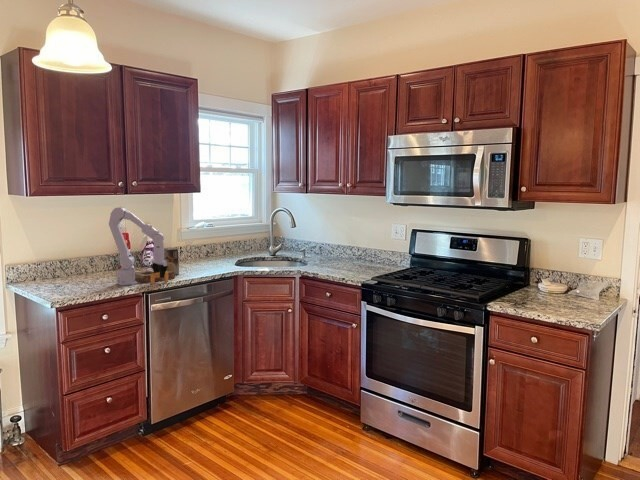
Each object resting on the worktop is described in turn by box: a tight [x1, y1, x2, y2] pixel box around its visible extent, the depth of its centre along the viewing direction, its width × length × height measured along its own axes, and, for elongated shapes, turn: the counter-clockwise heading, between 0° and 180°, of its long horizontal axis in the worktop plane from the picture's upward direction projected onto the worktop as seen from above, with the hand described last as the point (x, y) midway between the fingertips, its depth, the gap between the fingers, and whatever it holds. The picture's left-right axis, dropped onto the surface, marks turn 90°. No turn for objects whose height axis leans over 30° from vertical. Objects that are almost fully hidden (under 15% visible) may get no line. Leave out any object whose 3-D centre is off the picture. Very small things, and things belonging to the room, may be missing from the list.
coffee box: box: [164, 248, 180, 276], centre depth 301 cm, size 9×6×16 cm
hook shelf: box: [135, 268, 176, 284], centre depth 285 cm, size 20×14×5 cm
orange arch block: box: [150, 272, 169, 285], centre depth 274 cm, size 10×2×6 cm, turn 137°
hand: (159, 276), depth 274 cm, fingers open, 6 cm apart
